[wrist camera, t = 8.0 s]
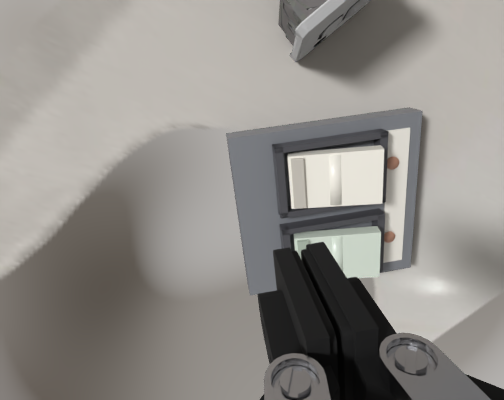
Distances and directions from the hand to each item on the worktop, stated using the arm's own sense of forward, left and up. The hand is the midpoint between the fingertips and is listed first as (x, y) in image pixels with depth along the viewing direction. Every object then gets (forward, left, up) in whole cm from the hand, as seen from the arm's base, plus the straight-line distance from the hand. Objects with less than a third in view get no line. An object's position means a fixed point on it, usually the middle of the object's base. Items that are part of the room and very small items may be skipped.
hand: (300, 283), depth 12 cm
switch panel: (-9, +10, -27) cm, 30 cm away
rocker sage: (-9, +15, -23) cm, 28 cm away
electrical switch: (-9, -10, -27) cm, 31 cm away
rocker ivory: (-9, +6, -23) cm, 25 cm away
